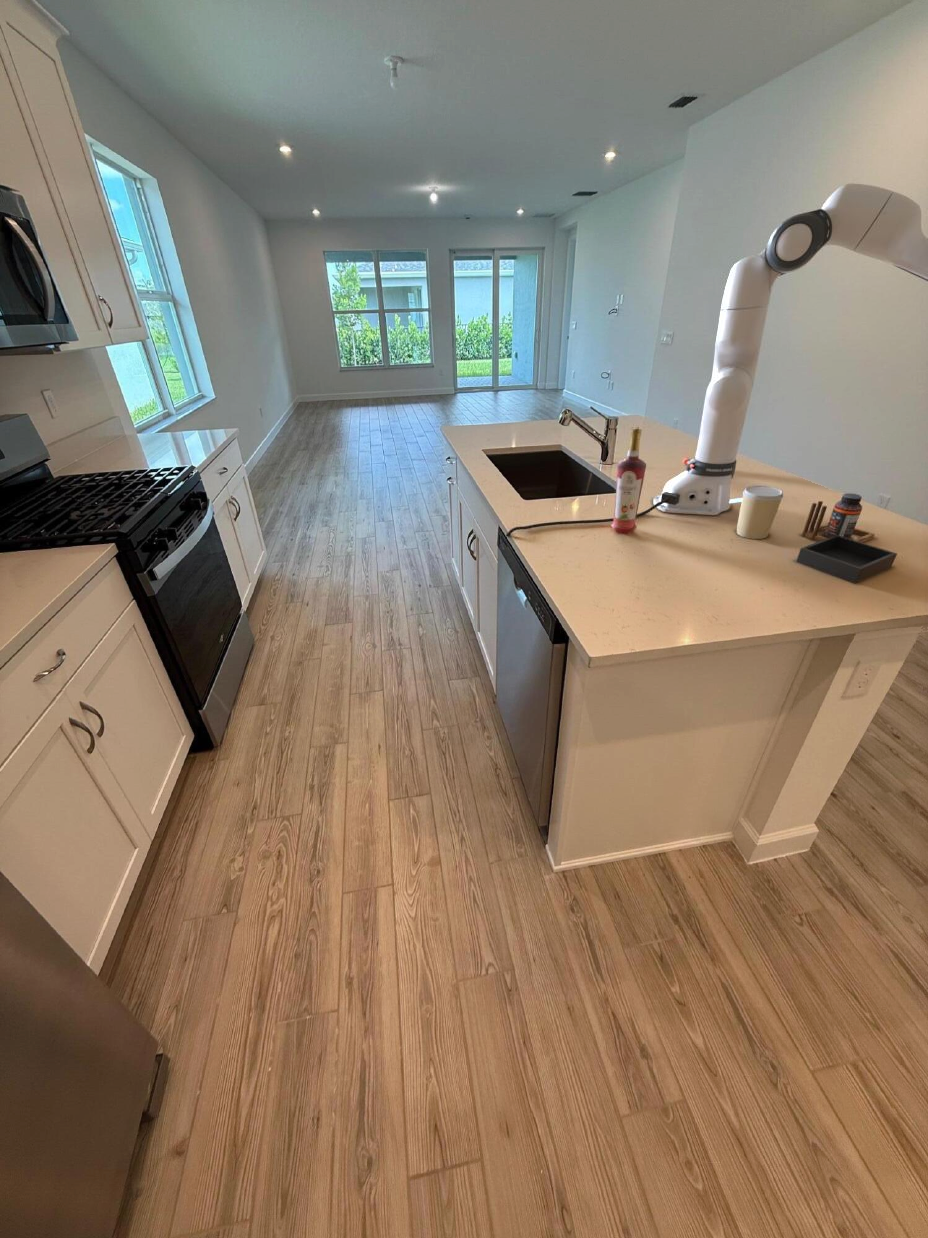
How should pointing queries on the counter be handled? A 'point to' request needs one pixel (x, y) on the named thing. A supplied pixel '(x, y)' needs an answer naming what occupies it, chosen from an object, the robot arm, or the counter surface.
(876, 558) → the tray
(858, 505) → the supplement bottle
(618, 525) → the liquor
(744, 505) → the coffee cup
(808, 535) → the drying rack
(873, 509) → the counter surface
